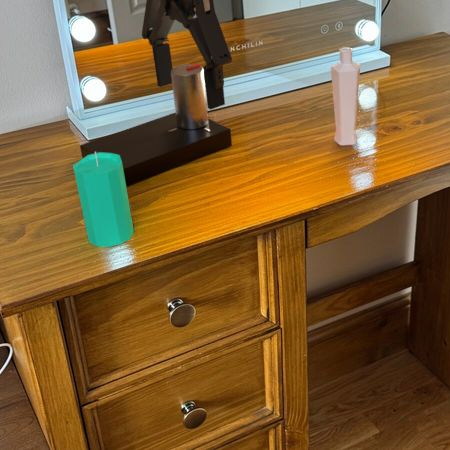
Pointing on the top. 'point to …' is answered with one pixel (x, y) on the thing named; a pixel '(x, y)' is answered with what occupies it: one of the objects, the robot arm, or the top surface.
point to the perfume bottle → (345, 97)
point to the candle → (104, 199)
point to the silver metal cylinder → (189, 96)
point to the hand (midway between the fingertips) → (190, 95)
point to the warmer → (160, 146)
